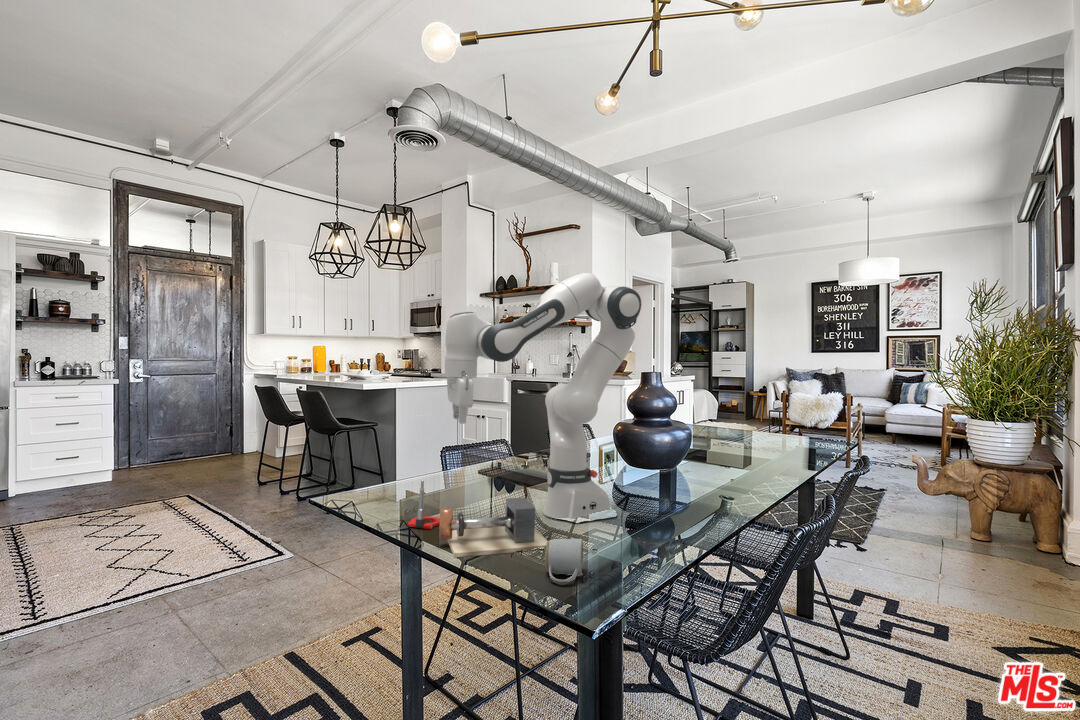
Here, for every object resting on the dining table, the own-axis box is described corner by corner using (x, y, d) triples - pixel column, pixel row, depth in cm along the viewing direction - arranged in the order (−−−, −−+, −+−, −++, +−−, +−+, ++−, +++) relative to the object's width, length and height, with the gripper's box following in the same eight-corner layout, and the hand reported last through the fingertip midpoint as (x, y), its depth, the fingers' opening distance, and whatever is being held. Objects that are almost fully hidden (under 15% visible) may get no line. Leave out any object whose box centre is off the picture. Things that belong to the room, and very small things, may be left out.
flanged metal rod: (509, 529, 139) (510, 502, 139) (514, 536, 134) (515, 508, 134) (437, 534, 133) (438, 506, 133) (440, 542, 128) (441, 513, 128)
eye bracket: (523, 528, 143) (524, 497, 143) (534, 541, 133) (535, 508, 133) (504, 530, 141) (505, 498, 141) (514, 543, 132) (516, 509, 131)
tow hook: (417, 519, 153) (404, 528, 144) (419, 474, 153) (406, 480, 144) (445, 521, 151) (433, 530, 142) (447, 476, 152) (436, 482, 143)
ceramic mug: (547, 565, 121) (548, 531, 121) (583, 567, 120) (584, 534, 120) (542, 585, 111) (543, 549, 111) (581, 589, 110) (582, 552, 110)
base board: (532, 528, 147) (532, 524, 147) (551, 548, 131) (551, 544, 131) (444, 534, 139) (444, 530, 139) (454, 557, 124) (454, 553, 124)
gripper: (479, 372, 137) (478, 426, 137) (465, 369, 156) (464, 416, 156) (455, 372, 135) (453, 426, 135) (444, 369, 154) (442, 416, 154)
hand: (459, 421), depth 146 cm, fingers open, 8 cm apart
